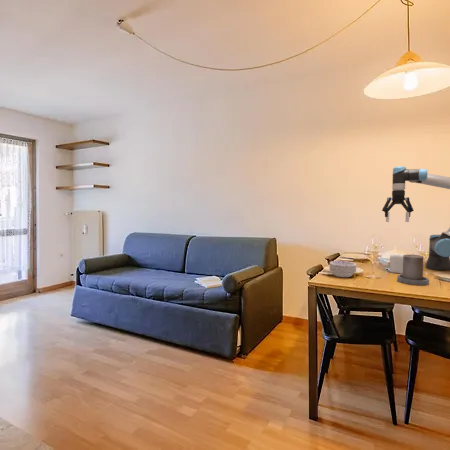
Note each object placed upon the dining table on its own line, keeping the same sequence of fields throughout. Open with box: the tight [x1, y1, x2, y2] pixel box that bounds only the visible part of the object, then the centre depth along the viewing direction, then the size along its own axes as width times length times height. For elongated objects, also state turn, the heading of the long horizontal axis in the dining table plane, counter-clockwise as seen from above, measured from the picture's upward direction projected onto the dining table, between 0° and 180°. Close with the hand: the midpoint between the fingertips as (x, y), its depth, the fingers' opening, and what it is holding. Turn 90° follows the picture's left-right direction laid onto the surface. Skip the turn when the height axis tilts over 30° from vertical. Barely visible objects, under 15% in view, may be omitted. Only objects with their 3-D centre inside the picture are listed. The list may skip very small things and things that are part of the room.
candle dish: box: [396, 274, 430, 286], centre depth 174 cm, size 15×15×2 cm
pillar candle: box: [402, 253, 424, 280], centre depth 173 cm, size 10×10×15 cm
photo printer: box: [389, 252, 405, 275], centre depth 196 cm, size 10×4×12 cm, turn 39°
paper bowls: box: [329, 260, 357, 278], centre depth 188 cm, size 15×15×8 cm
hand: (397, 222), depth 208 cm, fingers open, 13 cm apart
